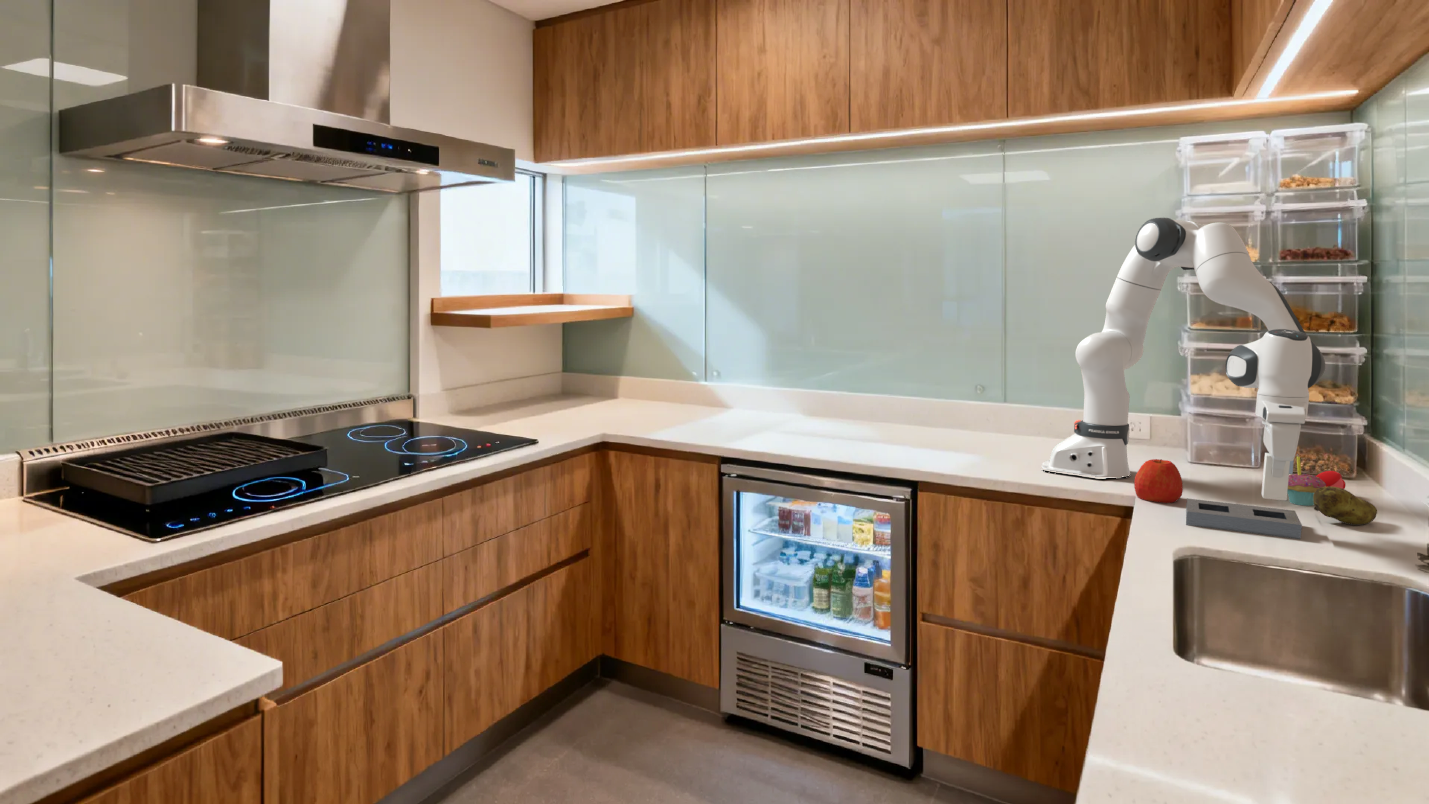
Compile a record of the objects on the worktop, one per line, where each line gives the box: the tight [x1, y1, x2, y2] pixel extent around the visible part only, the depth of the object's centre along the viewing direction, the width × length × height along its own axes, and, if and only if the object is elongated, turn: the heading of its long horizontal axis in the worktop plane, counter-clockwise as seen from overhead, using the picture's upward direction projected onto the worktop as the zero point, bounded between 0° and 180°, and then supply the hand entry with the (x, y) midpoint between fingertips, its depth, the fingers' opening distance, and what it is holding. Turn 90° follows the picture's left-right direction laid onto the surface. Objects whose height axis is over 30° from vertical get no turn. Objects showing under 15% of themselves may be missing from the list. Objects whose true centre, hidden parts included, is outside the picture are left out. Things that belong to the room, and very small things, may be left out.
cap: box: [1314, 470, 1346, 490], centre depth 199 cm, size 8×6×6 cm
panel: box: [1185, 498, 1303, 541], centre depth 173 cm, size 20×12×4 cm, turn 60°
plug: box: [1261, 452, 1295, 501], centre depth 169 cm, size 5×4×9 cm
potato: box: [1313, 486, 1378, 526], centre depth 176 cm, size 8×13×8 cm, turn 74°
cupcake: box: [1287, 453, 1326, 507], centre depth 191 cm, size 9×8×12 cm
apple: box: [1134, 458, 1184, 504], centre depth 193 cm, size 10×10×10 cm
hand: (1275, 474), depth 169 cm, fingers closed on plug, 4 cm apart
